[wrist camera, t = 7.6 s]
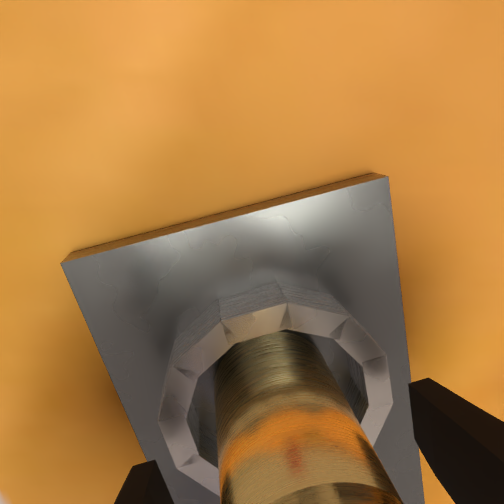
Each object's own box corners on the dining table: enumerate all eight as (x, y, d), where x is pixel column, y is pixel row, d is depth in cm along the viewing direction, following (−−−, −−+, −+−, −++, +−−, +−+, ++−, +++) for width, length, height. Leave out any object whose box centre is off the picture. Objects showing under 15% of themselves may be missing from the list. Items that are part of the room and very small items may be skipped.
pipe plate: (418, 537, 18) (451, 598, 16) (219, 602, 18) (223, 674, 15) (373, 172, 12) (415, 182, 10) (71, 252, 12) (39, 283, 9)
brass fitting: (274, 447, 14) (341, 730, 7) (189, 393, 13) (179, 673, 6) (349, 372, 13) (496, 606, 7) (268, 309, 12) (350, 518, 6)
